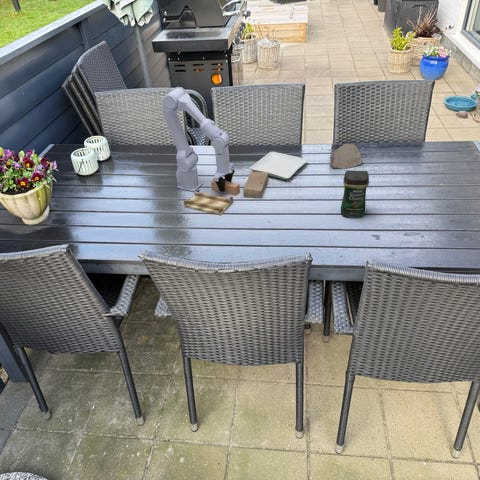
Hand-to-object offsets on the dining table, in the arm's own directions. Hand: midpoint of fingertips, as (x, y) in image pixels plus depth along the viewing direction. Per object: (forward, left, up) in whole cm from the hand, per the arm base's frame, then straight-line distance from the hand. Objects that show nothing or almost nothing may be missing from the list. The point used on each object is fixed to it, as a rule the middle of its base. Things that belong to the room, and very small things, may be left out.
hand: (225, 188), depth 201 cm
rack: (-1, -13, -1) cm, 13 cm away
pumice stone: (+42, +43, -2) cm, 60 cm away
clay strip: (0, 0, -2) cm, 2 cm away
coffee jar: (+57, +3, -2) cm, 57 cm away
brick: (+12, +7, -2) cm, 14 cm away
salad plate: (+14, +28, -2) cm, 31 cm away
